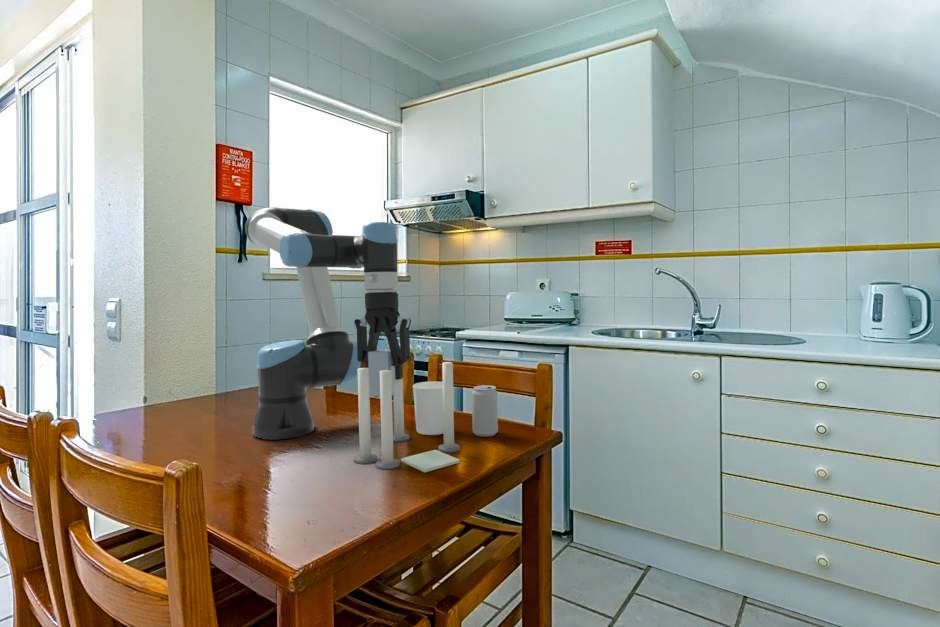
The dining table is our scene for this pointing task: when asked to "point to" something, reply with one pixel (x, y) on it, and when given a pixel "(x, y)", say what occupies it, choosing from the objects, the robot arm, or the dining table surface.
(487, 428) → the beverage can
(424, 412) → the white cup
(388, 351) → the block
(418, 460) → the pad
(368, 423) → the gate posts
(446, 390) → the gate posts
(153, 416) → the dining table surface
